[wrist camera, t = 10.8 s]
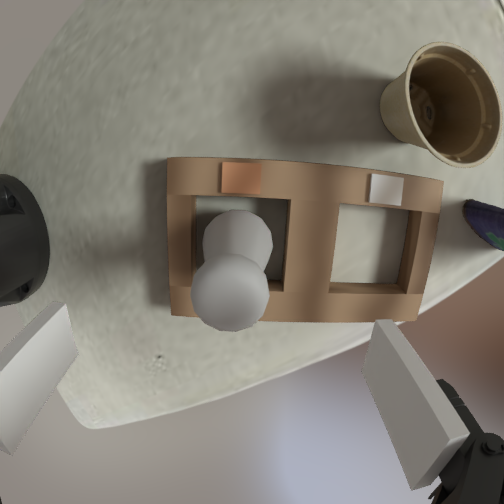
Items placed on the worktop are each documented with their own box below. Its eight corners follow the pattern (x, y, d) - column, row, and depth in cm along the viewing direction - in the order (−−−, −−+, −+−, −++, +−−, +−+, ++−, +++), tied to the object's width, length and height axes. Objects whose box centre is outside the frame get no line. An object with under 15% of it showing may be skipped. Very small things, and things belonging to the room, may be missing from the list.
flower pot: (460, 140, 25) (516, 142, 17) (390, 177, 27) (439, 189, 18) (420, 54, 23) (469, 31, 14) (344, 84, 24) (380, 60, 16)
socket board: (177, 303, 30) (170, 316, 28) (174, 157, 26) (166, 157, 24) (406, 309, 31) (417, 322, 28) (430, 178, 26) (445, 181, 24)
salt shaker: (206, 265, 29) (174, 344, 17) (207, 203, 27) (169, 246, 15) (269, 268, 29) (279, 351, 17) (273, 207, 28) (290, 253, 15)
